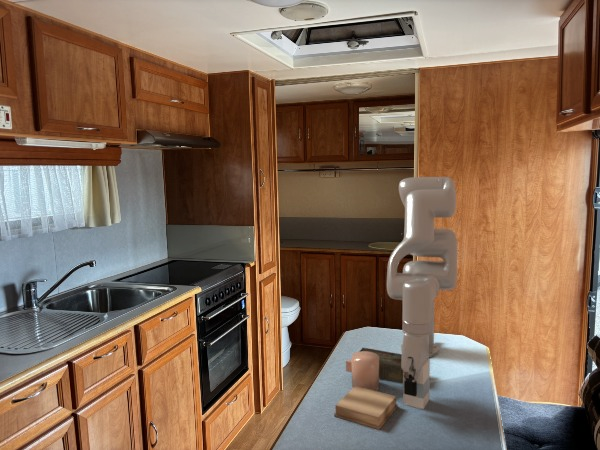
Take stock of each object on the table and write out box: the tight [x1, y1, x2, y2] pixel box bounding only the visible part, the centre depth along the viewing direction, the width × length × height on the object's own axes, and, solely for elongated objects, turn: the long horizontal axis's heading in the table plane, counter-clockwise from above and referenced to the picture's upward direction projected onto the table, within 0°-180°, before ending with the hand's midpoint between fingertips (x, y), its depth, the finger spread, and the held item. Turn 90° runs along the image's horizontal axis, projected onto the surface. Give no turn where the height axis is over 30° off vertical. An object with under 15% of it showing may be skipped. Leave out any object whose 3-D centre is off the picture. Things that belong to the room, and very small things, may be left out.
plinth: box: [333, 386, 398, 430], centre depth 125 cm, size 13×13×3 cm
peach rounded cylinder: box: [345, 350, 380, 391], centre depth 139 cm, size 8×10×9 cm
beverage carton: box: [358, 347, 403, 384], centre depth 146 cm, size 8×19×7 cm, turn 64°
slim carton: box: [402, 357, 431, 410], centre depth 128 cm, size 6×6×13 cm
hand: (416, 387), depth 128 cm, fingers open, 9 cm apart
